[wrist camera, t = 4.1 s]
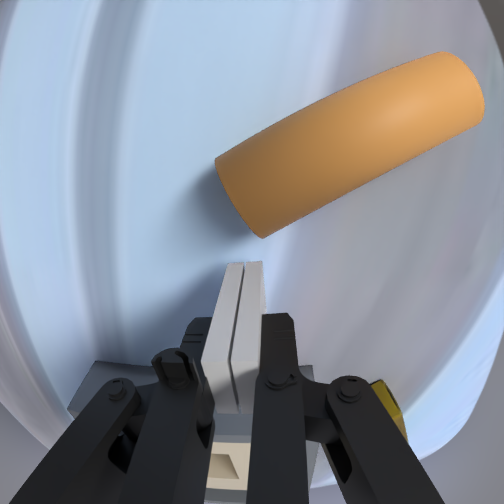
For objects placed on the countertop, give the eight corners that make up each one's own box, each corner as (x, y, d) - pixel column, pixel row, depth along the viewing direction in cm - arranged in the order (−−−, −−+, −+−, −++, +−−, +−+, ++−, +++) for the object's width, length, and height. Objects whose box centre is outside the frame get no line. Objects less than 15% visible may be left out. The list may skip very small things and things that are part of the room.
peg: (242, 181, 15) (426, 88, 12) (273, 247, 13) (472, 140, 10) (204, 142, 11) (432, 36, 8) (238, 222, 10) (493, 91, 7)
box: (95, 360, 20) (66, 408, 15) (312, 365, 18) (321, 431, 13) (158, 456, 26) (148, 492, 21) (303, 462, 25) (306, 503, 20)
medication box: (400, 431, 23) (412, 459, 19) (377, 442, 23) (388, 471, 20) (383, 376, 19) (403, 414, 15) (352, 392, 19) (368, 432, 15)
